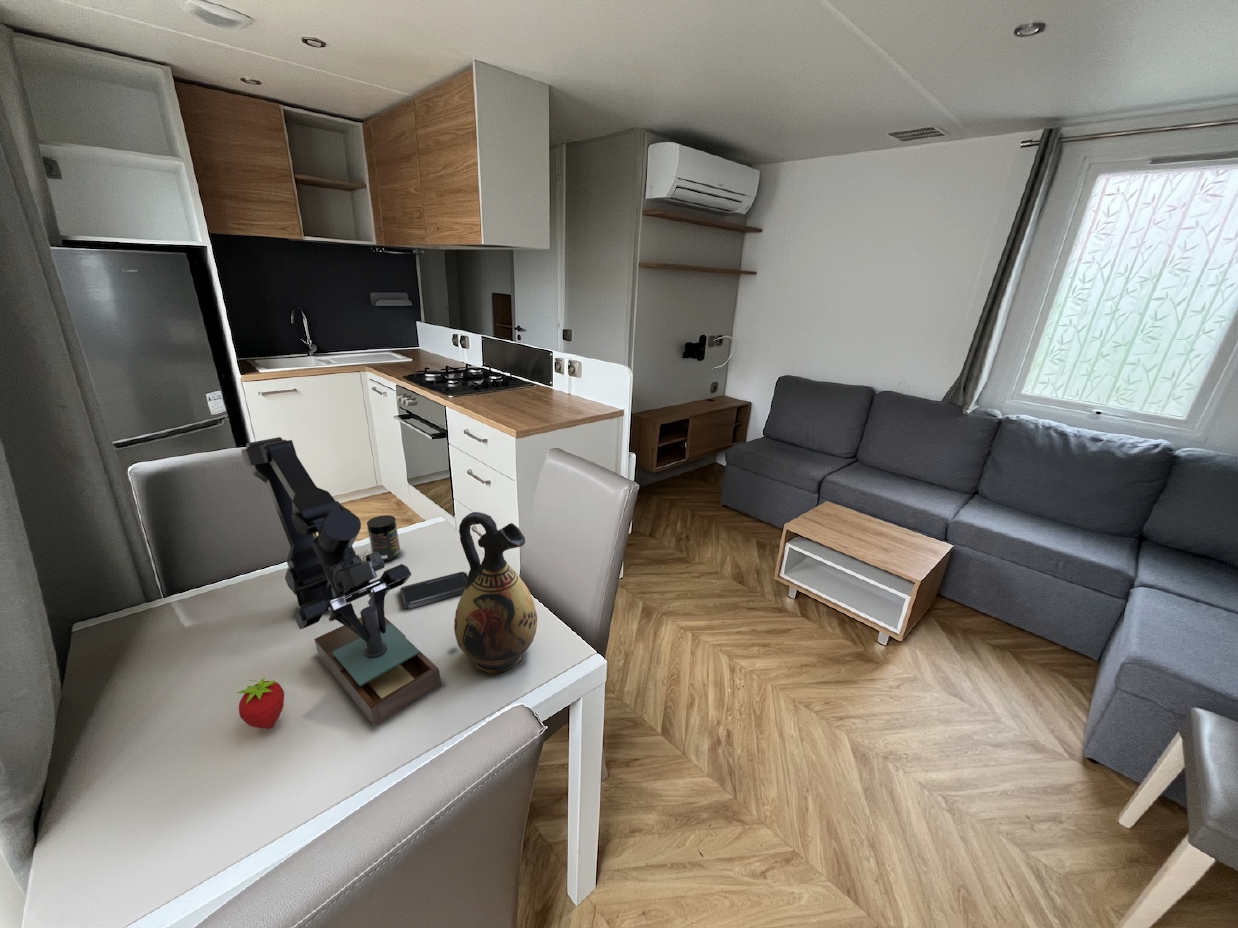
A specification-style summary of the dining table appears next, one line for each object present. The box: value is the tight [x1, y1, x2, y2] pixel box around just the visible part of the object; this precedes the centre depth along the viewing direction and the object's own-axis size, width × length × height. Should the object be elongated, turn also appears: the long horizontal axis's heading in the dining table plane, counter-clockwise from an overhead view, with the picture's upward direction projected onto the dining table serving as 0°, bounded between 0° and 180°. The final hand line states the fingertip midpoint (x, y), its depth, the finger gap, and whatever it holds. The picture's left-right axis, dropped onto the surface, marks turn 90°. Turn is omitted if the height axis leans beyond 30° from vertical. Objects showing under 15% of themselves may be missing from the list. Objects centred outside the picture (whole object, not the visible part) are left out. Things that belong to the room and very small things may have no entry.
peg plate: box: [332, 605, 421, 686], centre depth 88 cm, size 12×11×9 cm
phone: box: [399, 571, 468, 609], centre depth 115 cm, size 8×1×15 cm
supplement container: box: [366, 514, 402, 563], centre depth 128 cm, size 7×7×10 cm
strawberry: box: [236, 676, 285, 730], centre depth 78 cm, size 6×8×10 cm
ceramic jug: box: [453, 511, 538, 675], centre depth 92 cm, size 17×15×30 cm
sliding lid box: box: [314, 616, 442, 727], centre depth 92 cm, size 24×12×4 cm, turn 49°
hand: (376, 636), depth 88 cm, fingers closed on peg plate, 3 cm apart
